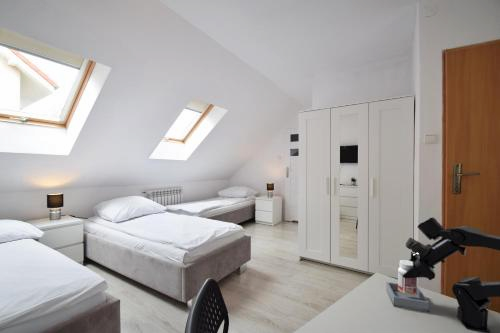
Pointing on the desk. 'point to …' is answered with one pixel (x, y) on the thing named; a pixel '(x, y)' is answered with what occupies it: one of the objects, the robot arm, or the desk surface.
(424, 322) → the desk surface
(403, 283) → the pill bottle
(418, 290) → the slate tray
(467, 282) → the robot arm
